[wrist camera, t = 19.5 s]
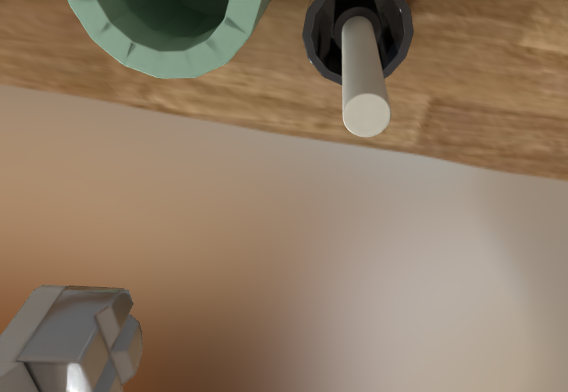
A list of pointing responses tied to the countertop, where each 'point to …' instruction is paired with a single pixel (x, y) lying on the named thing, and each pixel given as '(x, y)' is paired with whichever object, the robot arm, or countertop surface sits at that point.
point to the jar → (170, 32)
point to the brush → (361, 67)
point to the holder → (330, 55)
